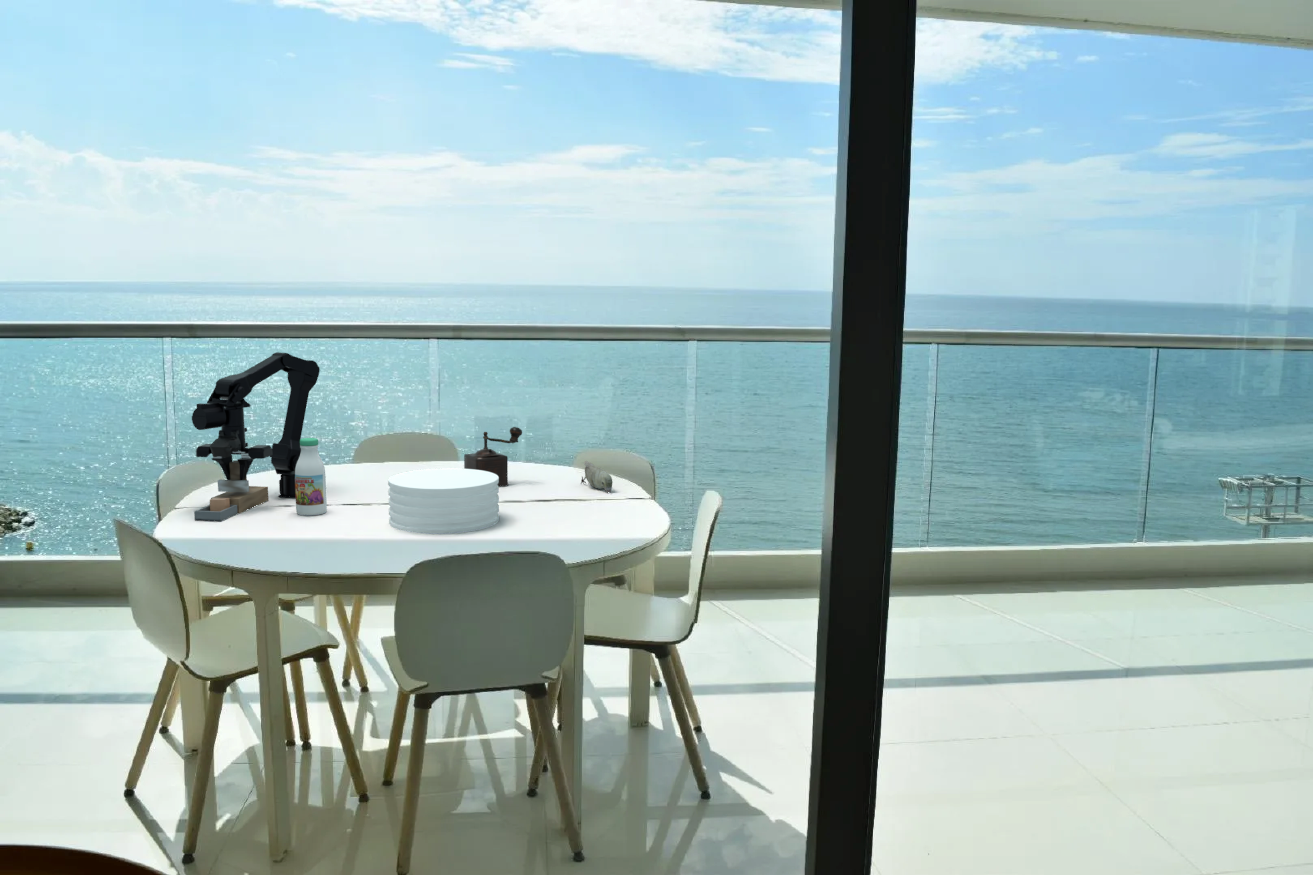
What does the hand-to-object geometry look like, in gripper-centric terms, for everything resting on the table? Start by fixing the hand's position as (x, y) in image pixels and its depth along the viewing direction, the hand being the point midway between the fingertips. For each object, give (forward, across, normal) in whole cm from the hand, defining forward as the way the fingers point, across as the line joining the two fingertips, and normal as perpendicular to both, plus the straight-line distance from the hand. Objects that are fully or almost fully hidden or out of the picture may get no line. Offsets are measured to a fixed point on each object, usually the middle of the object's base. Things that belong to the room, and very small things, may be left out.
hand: (236, 482), depth 268 cm
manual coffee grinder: (+8, +60, +44) cm, 74 cm away
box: (+7, 0, -11) cm, 13 cm away
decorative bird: (+8, +92, +42) cm, 102 cm away
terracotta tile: (+4, 0, -8) cm, 9 cm away
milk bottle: (+7, +22, -2) cm, 23 cm away
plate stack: (+8, +59, -5) cm, 59 cm away
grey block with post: (+2, 0, +1) cm, 2 cm away
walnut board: (+7, 0, +2) cm, 7 cm away
